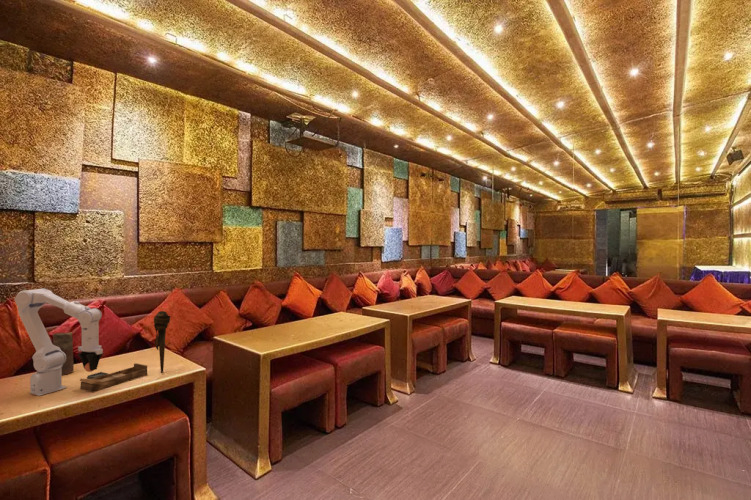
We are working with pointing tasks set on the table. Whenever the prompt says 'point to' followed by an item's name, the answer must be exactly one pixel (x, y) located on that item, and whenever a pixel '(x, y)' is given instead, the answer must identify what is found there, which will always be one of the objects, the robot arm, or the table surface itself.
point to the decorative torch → (161, 334)
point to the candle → (65, 350)
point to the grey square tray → (96, 375)
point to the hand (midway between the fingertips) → (90, 369)
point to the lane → (114, 378)
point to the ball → (88, 368)
